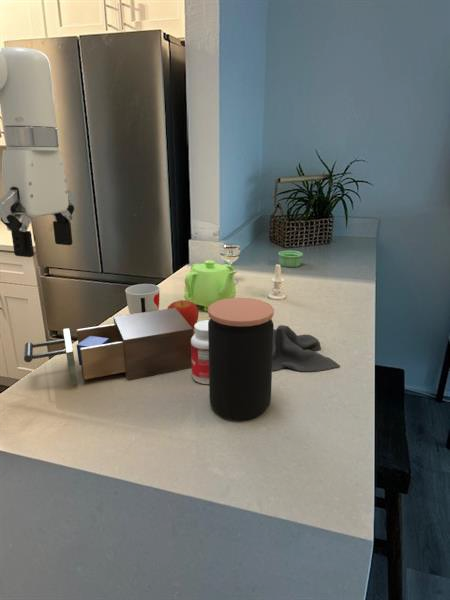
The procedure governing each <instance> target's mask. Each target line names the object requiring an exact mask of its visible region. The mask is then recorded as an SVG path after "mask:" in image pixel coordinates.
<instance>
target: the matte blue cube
mask: <svg viewBox="0 0 450 600" xmlns="http://www.w3.org/2000/svg"><path fill="white" fill-rule="evenodd" d="M108 343H110V342H109V338H102V337H95V336H89V337H87V338H86V339H84V340H83V341H81V342H80V343H79V344H78V343H77V344H76V352H77V353H76V354H77V358H78V359H77V360H78V366H81V367H82V358H81V351H80V348H84V347H90V346H96V345H102V344H108Z"/></svg>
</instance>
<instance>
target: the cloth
mask: <svg viewBox="0 0 450 600" xmlns="http://www.w3.org/2000/svg"><path fill="white" fill-rule="evenodd" d="M321 350H322V347H321V343H320V341H319V339H318V338H317V337H315V336H313V335H312V334H299V335H297V333H296V332H295V331H294V330H293V329H292V328H291V327H290V326H288V325H283V324H280V325H278V326H277V328H276V329H275V328H273V356H272V372H276V371H280V370H282V369H284V368H287V369H290V370H294V371H298V372H301V373H302V372H303V373H312V372H322V371H326V370H332V369H336V368H340V367H341V365H340V364H338V363H337V362H336V361H335V360H333V359H332V358H330V357H328V356H324V355H323V354H321V353H319V352H317V351H321Z"/></svg>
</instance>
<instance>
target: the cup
mask: <svg viewBox="0 0 450 600" xmlns="http://www.w3.org/2000/svg"><path fill="white" fill-rule="evenodd" d="M125 295H126V296H125V298H126V304H127V308H128V312H129V314H136V313H143V312H149V311H156V310H160V287H159V286H158V285H156V284H152V283H138V284H134V285H130V286H128V287H126V288H125Z"/></svg>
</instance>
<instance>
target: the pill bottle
mask: <svg viewBox="0 0 450 600" xmlns="http://www.w3.org/2000/svg"><path fill="white" fill-rule="evenodd" d="M209 320H210V319H207V320H206V319H205V320H200V321H197V323H196V324H195V325H194V330H193V336H192V338H191V359H192V368H191V377H192V379H193V380H194V381H195V382H197V383H200V384H203V385H209V342H208V322H209Z"/></svg>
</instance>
